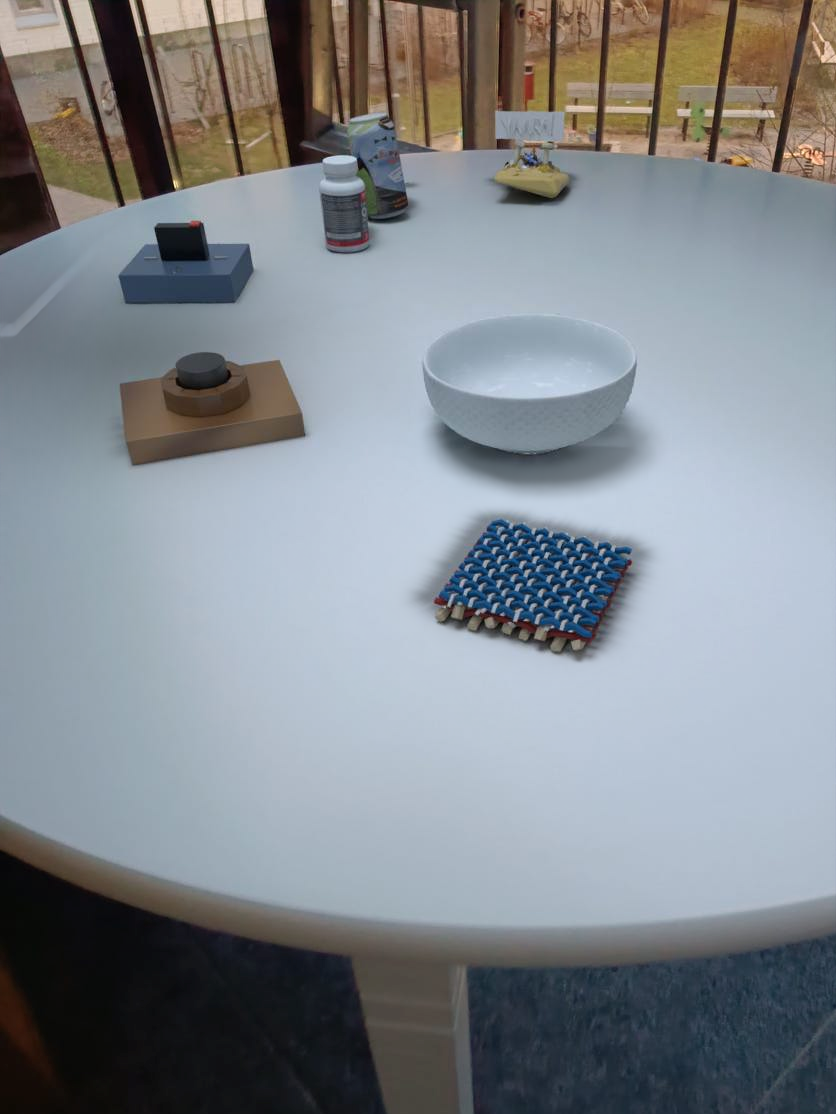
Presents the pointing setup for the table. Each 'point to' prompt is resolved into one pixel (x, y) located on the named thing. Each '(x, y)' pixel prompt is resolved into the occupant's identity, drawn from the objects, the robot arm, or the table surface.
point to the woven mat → (535, 583)
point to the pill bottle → (343, 205)
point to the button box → (209, 413)
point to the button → (202, 371)
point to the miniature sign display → (524, 168)
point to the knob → (182, 241)
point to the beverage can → (378, 164)
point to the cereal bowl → (529, 380)
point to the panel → (187, 276)
